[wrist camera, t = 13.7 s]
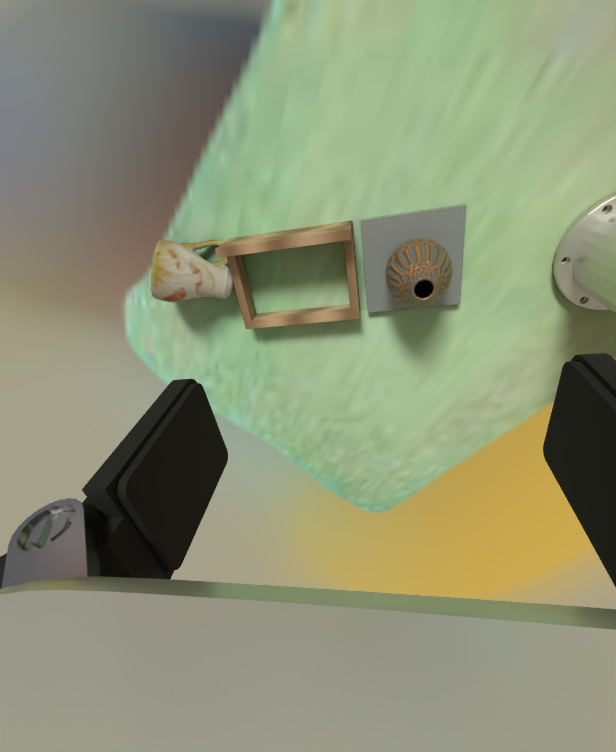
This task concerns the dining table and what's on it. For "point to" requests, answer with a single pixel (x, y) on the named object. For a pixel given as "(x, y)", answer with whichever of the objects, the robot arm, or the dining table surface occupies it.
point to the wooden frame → (286, 240)
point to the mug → (188, 273)
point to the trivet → (400, 228)
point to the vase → (418, 272)
